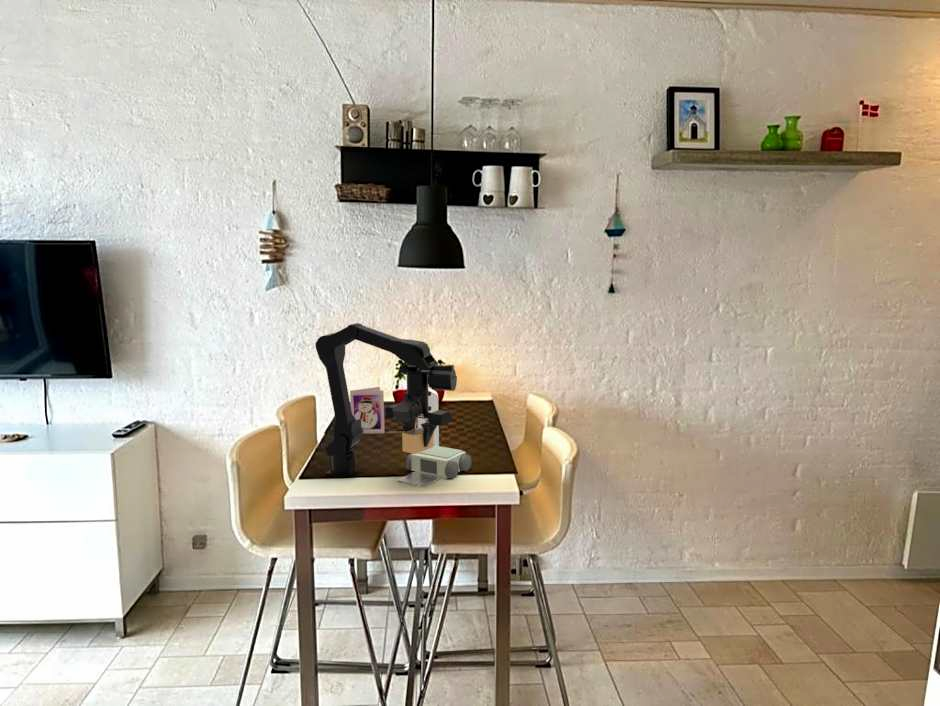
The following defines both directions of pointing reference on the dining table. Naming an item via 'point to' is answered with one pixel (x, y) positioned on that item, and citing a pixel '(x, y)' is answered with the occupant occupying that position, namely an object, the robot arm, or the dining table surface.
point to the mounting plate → (419, 478)
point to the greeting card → (368, 409)
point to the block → (415, 441)
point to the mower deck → (439, 461)
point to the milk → (434, 407)
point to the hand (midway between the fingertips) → (418, 445)
